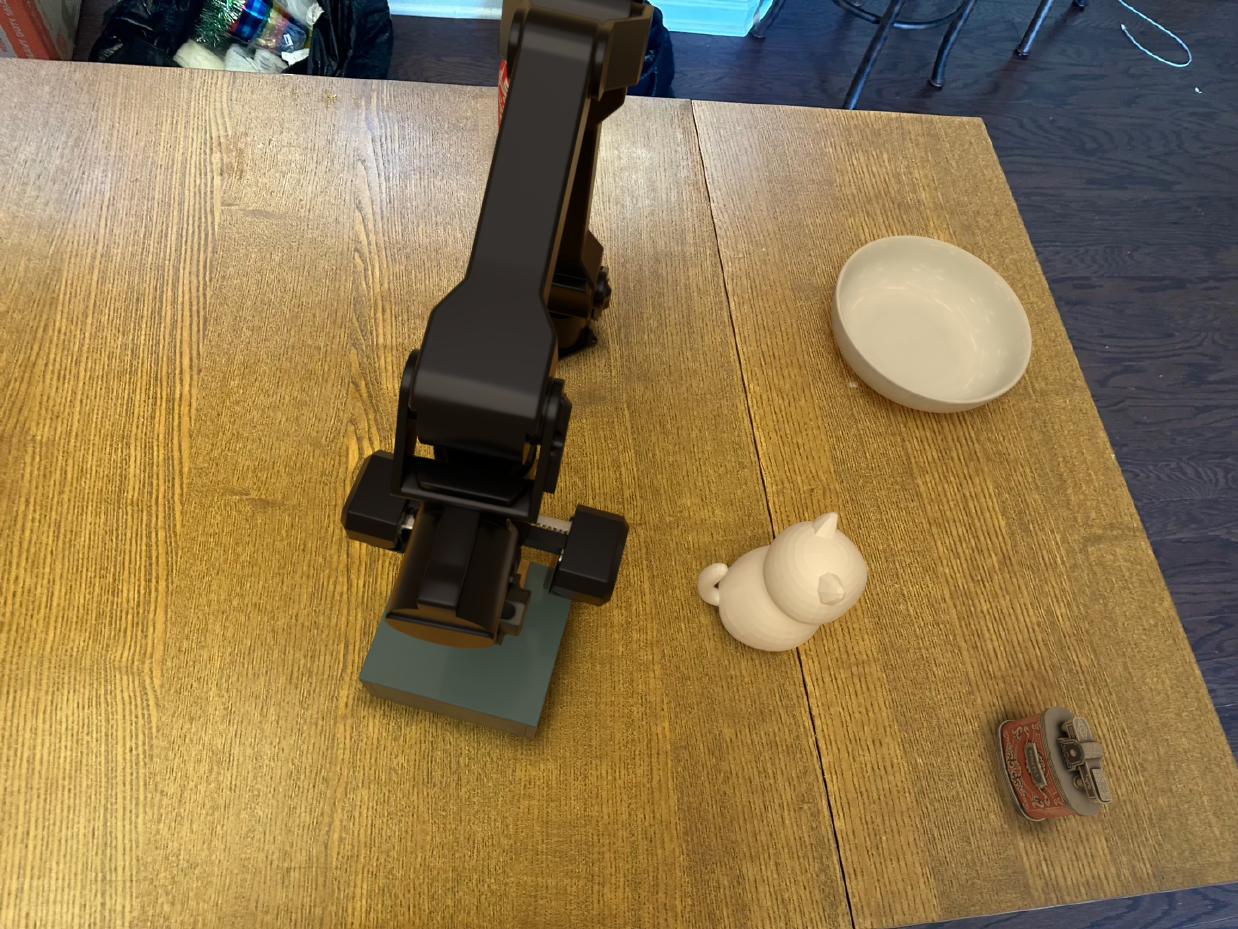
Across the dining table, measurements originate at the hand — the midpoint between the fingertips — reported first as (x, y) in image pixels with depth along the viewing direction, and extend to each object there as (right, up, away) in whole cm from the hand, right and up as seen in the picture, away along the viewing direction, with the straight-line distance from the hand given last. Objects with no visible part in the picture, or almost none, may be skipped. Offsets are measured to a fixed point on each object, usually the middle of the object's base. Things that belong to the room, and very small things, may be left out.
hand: (489, 567), depth 63 cm
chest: (-2, -7, +5) cm, 9 cm away
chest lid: (-1, -5, 0) cm, 5 cm away
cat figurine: (+22, -5, +10) cm, 25 cm away
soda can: (-1, +45, +32) cm, 55 cm away
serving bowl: (+41, +20, +26) cm, 53 cm away
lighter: (+44, -18, +7) cm, 48 cm away
